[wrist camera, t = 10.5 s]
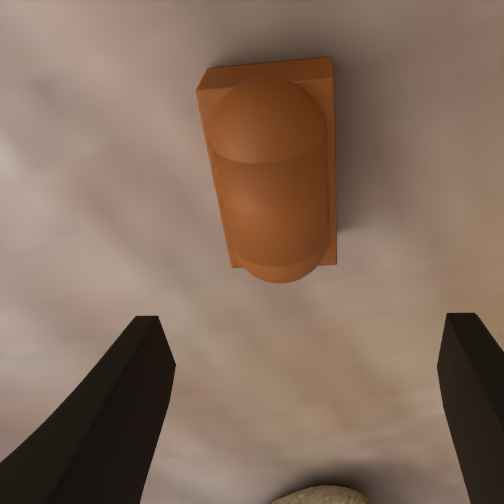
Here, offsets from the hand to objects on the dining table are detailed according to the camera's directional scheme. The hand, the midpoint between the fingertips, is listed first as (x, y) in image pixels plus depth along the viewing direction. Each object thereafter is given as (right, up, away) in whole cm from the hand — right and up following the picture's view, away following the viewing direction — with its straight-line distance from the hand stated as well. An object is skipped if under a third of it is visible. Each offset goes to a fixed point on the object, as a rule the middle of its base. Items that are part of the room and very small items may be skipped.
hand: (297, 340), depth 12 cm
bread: (0, +6, +7) cm, 10 cm away
